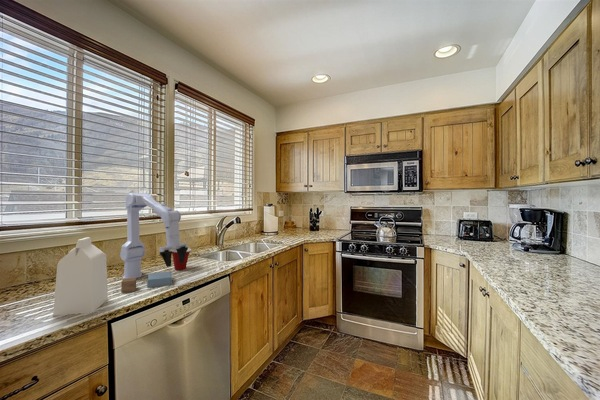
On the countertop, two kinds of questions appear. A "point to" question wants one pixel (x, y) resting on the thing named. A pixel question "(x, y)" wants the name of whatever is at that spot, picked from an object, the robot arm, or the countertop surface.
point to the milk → (81, 280)
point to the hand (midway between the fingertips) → (175, 264)
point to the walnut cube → (128, 284)
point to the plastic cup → (176, 260)
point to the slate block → (159, 279)
